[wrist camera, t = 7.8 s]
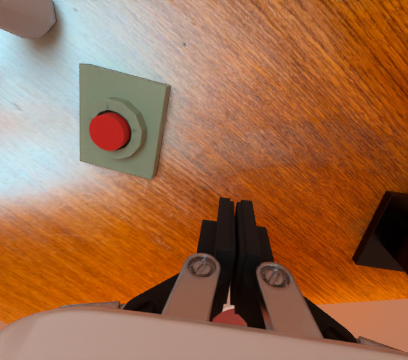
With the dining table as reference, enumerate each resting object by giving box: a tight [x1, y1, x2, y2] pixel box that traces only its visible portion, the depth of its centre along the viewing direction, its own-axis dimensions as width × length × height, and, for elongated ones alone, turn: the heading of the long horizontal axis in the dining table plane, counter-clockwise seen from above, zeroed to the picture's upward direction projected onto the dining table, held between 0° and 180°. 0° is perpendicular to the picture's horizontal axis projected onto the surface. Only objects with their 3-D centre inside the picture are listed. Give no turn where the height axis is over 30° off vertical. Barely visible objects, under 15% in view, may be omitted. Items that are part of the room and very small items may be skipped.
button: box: [89, 112, 130, 151], centre depth 26 cm, size 4×4×2 cm
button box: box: [79, 64, 171, 180], centre depth 28 cm, size 12×10×4 cm
